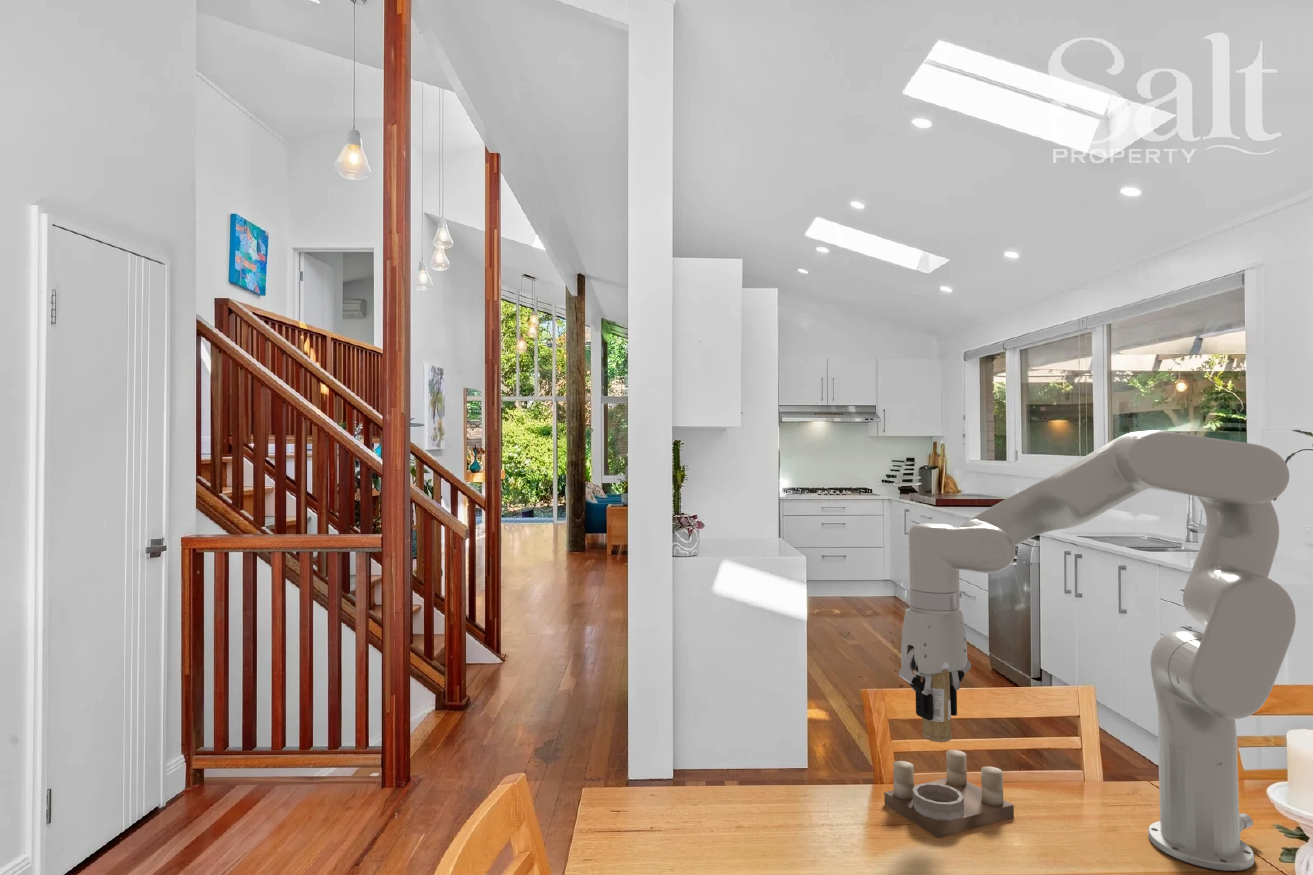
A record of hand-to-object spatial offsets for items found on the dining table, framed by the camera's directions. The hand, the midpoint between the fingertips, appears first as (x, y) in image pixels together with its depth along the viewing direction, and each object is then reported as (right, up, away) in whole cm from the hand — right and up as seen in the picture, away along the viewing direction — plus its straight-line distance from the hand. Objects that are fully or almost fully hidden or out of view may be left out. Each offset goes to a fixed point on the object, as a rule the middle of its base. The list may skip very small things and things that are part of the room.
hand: (936, 713), depth 118 cm
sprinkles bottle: (0, -4, 0) cm, 4 cm away
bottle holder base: (+3, -17, +3) cm, 18 cm away
